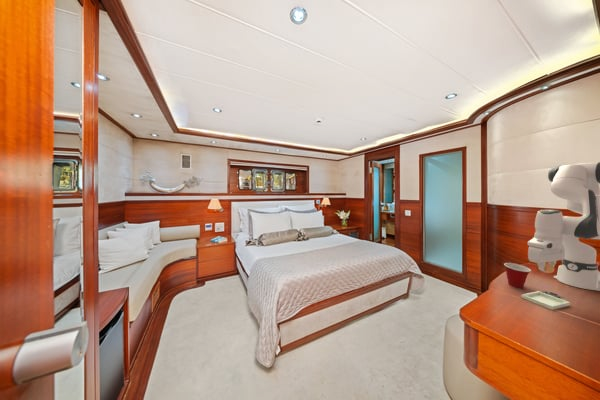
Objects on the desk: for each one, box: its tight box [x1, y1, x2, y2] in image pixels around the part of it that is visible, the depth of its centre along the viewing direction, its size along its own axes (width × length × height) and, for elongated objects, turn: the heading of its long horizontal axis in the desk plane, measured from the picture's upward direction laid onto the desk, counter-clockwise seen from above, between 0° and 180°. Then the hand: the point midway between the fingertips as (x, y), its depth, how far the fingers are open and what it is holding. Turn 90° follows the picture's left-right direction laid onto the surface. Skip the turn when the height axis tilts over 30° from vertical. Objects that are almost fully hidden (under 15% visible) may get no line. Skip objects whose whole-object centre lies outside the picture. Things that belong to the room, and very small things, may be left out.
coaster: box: [541, 290, 566, 300], centre depth 106 cm, size 7×7×1 cm
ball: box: [541, 262, 555, 274], centre depth 99 cm, size 5×5×5 cm
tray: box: [520, 290, 571, 311], centre depth 100 cm, size 13×11×2 cm
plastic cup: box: [503, 262, 532, 289], centre depth 116 cm, size 11×11×12 cm
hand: (546, 269), depth 99 cm, fingers closed on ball, 5 cm apart
